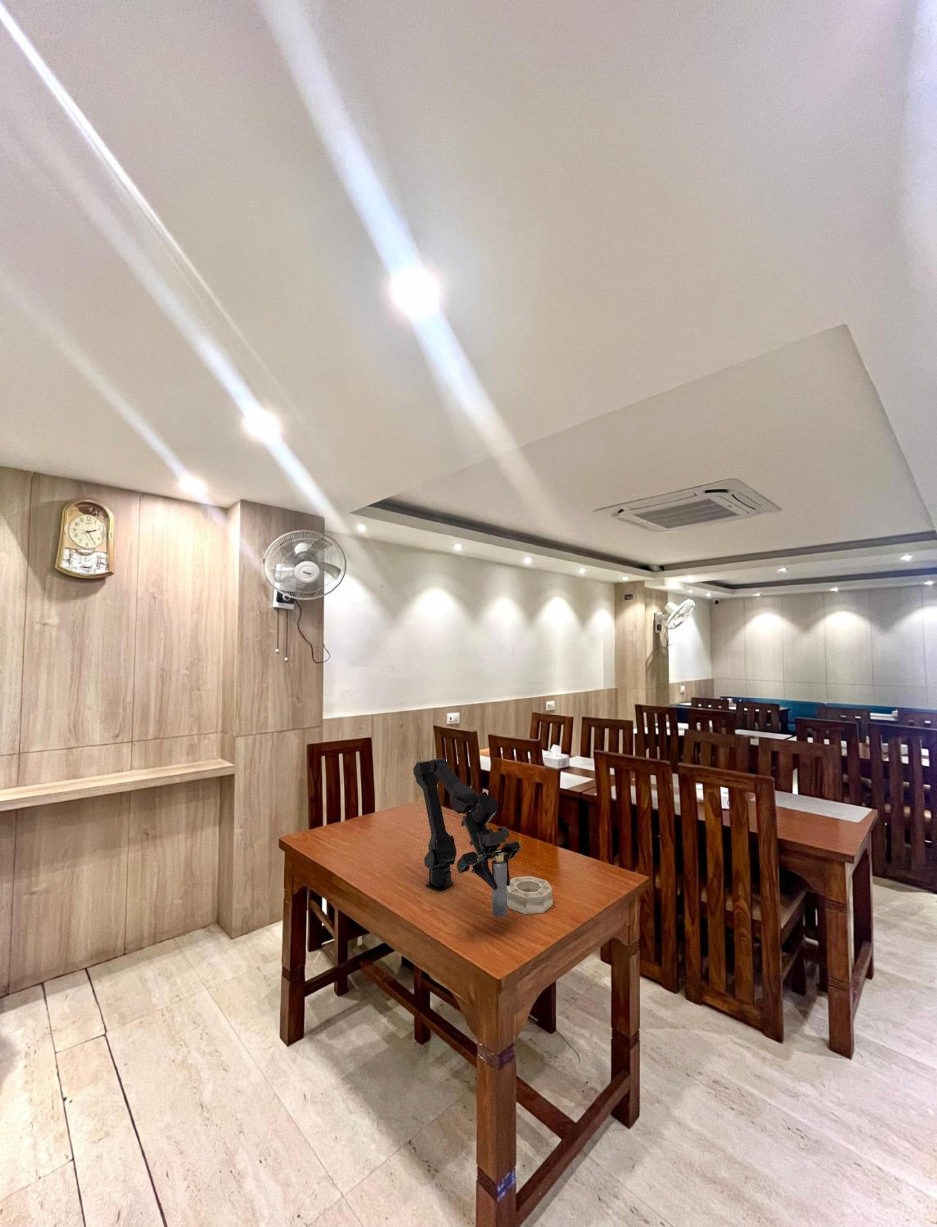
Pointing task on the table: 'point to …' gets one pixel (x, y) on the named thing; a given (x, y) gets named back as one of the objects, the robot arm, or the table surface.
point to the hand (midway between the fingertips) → (502, 887)
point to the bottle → (499, 886)
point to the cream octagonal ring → (529, 895)
